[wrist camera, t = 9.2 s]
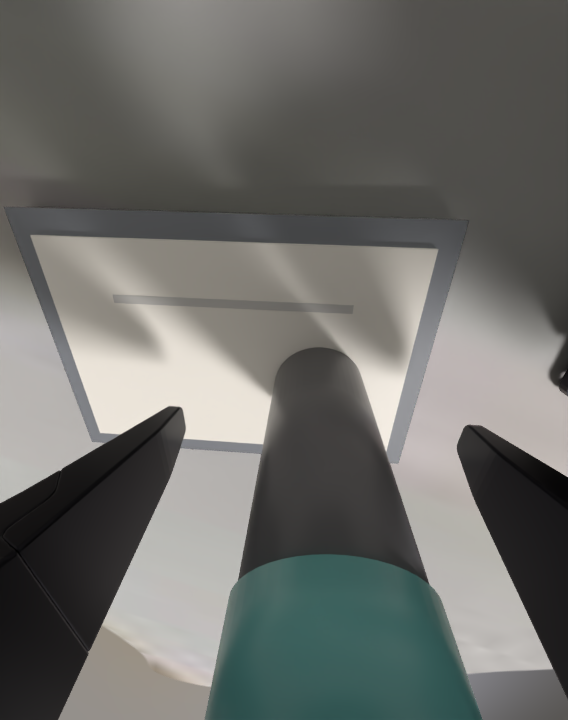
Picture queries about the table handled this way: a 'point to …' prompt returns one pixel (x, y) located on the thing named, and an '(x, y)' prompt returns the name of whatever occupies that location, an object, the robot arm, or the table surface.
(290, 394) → the marker
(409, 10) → the table surface
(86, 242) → the writing board
